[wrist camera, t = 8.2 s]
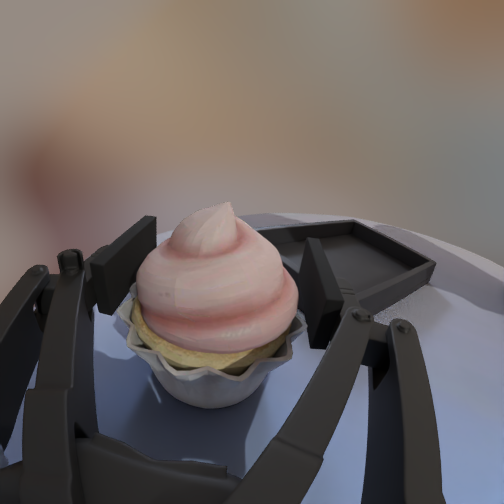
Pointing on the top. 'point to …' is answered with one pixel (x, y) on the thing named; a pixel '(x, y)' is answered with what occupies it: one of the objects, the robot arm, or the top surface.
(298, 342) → the top surface
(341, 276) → the baking tray
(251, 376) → the cupcake
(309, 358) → the top surface
